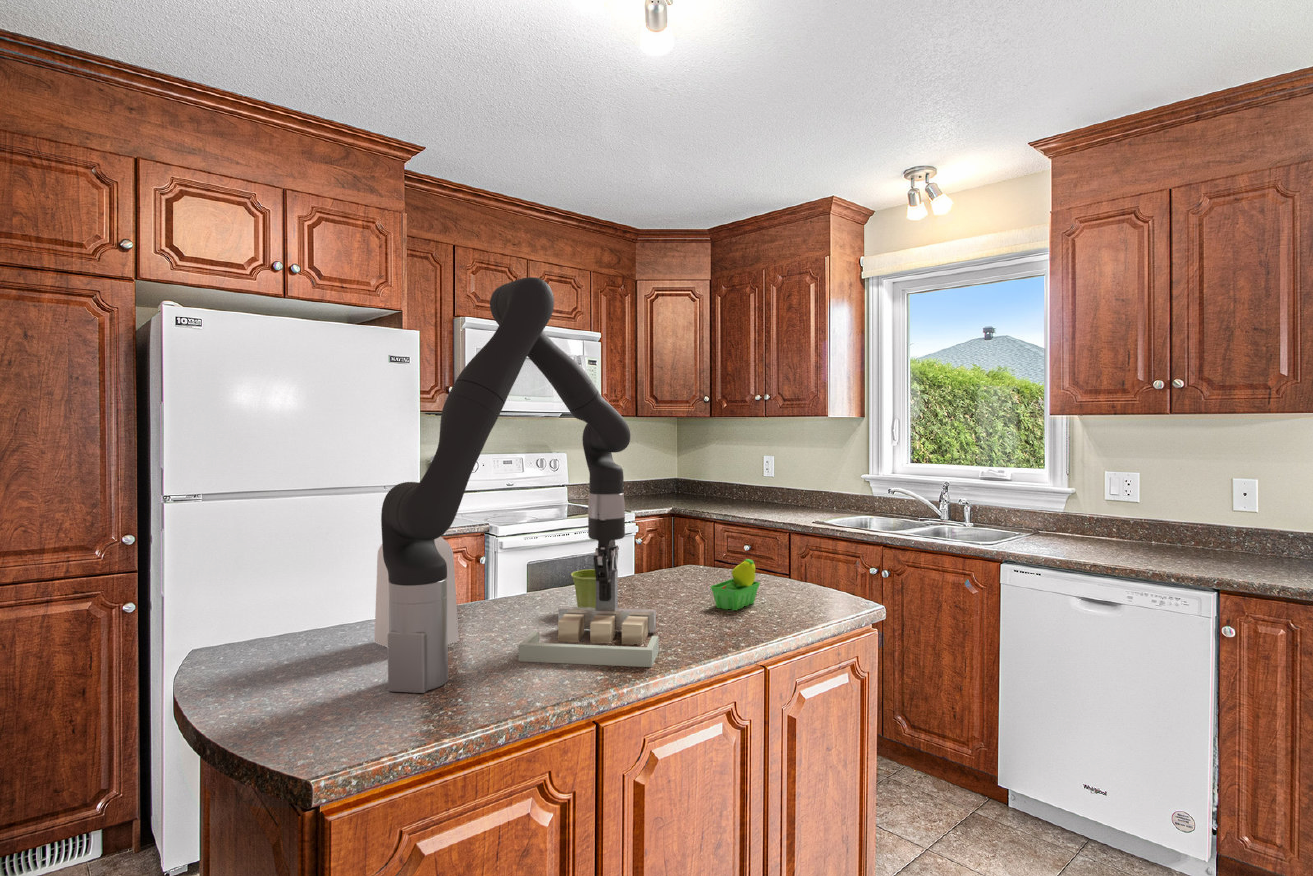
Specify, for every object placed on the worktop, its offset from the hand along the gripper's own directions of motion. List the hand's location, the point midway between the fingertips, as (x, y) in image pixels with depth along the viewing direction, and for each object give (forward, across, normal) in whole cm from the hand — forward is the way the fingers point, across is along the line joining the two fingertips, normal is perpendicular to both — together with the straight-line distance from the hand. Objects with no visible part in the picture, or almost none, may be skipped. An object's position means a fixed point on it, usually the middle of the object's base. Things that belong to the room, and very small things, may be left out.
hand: (606, 598), depth 147 cm
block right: (+7, +4, +7) cm, 11 cm away
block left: (+7, +4, -6) cm, 11 cm away
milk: (+7, +11, -36) cm, 38 cm away
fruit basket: (+7, -24, +26) cm, 37 cm away
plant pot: (+7, -16, -7) cm, 18 cm away
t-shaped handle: (+6, 0, 0) cm, 6 cm away
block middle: (+7, +4, 0) cm, 8 cm away
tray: (+7, +16, 0) cm, 17 cm away
